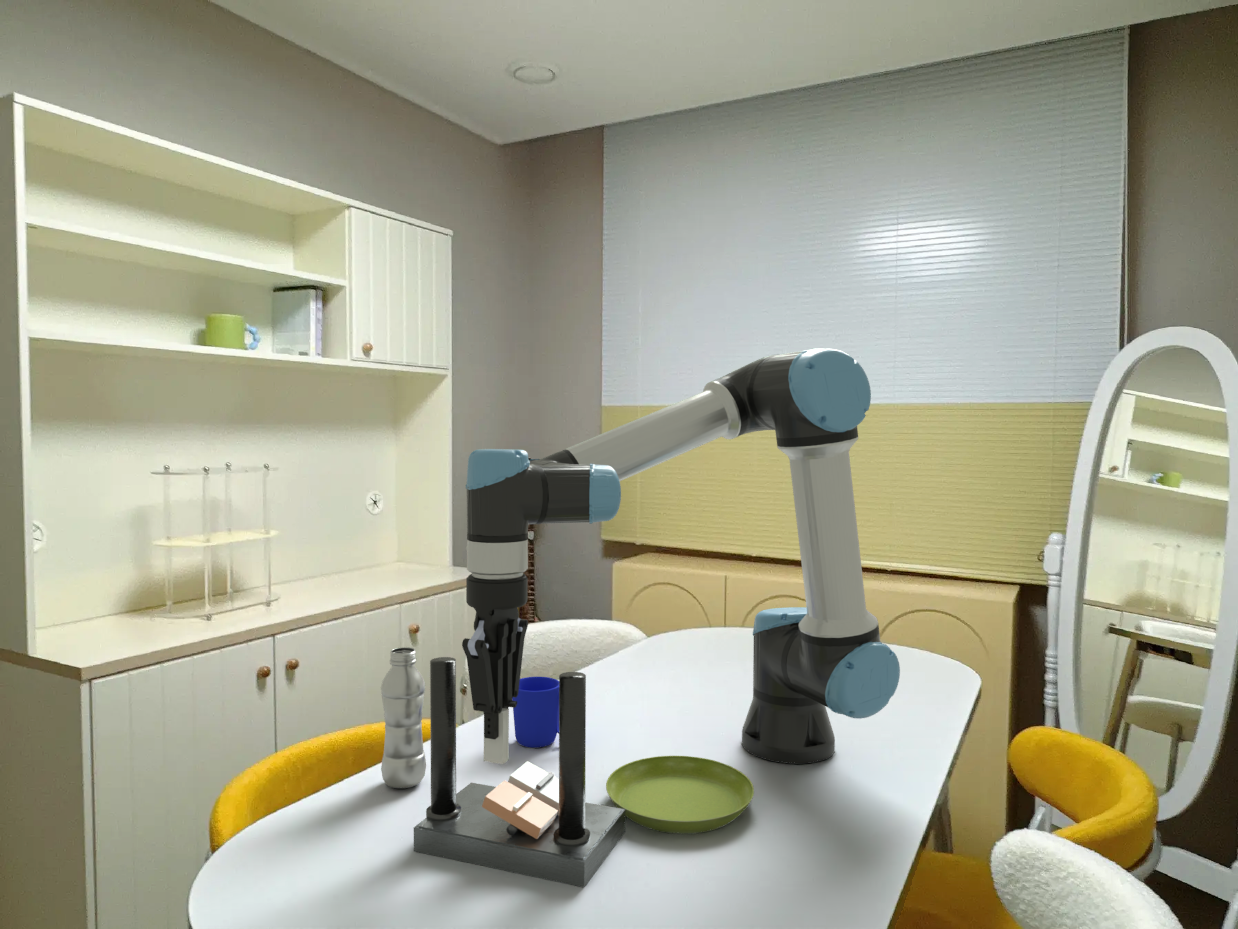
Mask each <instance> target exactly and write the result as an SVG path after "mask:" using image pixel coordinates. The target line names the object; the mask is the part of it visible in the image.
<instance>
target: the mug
mask: <svg viewBox="0 0 1238 929" xmlns="http://www.w3.org/2000/svg"><path fill="white" fill-rule="evenodd" d="M512 701H517V706H516V707H515V708H513V707H512V712H513V724H514V725H513V726H514V735H515V739H516V742H517V743H518V744H519V745H520V746H523V747H524V748H525V747H526V748H530V749H531V748H532V749H534V748H535V749H536V748H537V749H539V748H545V747H547V746H550V745H551V744H553V743H554V742H555V740H556V737H557V734H558V735H559V680H558V679H556V678H553V677H548V676H527V677H522V678H520V683H519V692H518V696H517V697H513V698H512Z"/></svg>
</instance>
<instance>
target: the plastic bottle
mask: <svg viewBox="0 0 1238 929" xmlns="http://www.w3.org/2000/svg"><path fill="white" fill-rule="evenodd" d="M389 654H390V659H389V664H390V666H391V667H390V669H389V670H388V671H387V673H386V675H385V676H384V678H383V680H382V681H381V682H382V683H381V686H380V691H381V692H380V693H381V694H380V695H381V699H382V707H383V712H384V713H383V716H384V729H385V730H384V731H385V733H384V746H383V754H382V758H381V768H380V770H381V771H380V772H381V776H382V780H383V782H384V783H385V784H386V786H388V787H390V788H392V789H393V788H394V789H406V788H413V787H415V786H417V785H419V784H421V782H422V781H423V779H424V777H425V775H426V769H427V760H426V754H425V750H424V742H423V730H422V724H423V722H422V720H423V708H424V707H423V706H424V698H425V691H426V683H425V679H424V677H423V675H422V673H421V672H420V670H418V668H417V667H416V666H415V664H416V663H417V658H416V654H417V652H416V648H413V647H407V646H406V647H405V646H404V647H403V646H402V647H401V646H400V647H395V648H393V649H391V650H390V653H389Z"/></svg>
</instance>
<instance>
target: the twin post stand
mask: <svg viewBox="0 0 1238 929" xmlns="http://www.w3.org/2000/svg"><path fill="white" fill-rule="evenodd" d="M429 664H430V666H429V667H430V668H429V669H430V670H429V671H430V672H429V676H430V677H429V678H430V679H429V680H430V681H429V682H430V684H429V685H430V687H429V688H430V689H429V690H430V691H429V692H430V694H429V695H430V704H429V705H430V714H429V715H430V717H429V718H430V805H429V806H427V808H426V810H425V813H426V814H425V815H426V817H425V818H424V819H423V820H421V821H420V822H418V824H416V825H415V826H414V827H413V852H416V853H417V852H418V853H421V854H426V855H429V856H430V855H431V856H434V857H435V856H436V857H440V858H444V859H448V860H455V861H459V862H463V863H468V864H472V865H476V866H477V865H478V866H483V867H486V868H487V867H488V868H492V869H497V870H499V871H500V870H502V871H505V872H509V873H510V872H511V873H515V874H521V875H525V876H529V877H534V878H539V879H543V880H549V881H554V882H557V883H562V884H568V885H572V886H577V887H582V888H585V887H586V886H587V884H588V883H589V882H590V880H591V879H592V878H593V876H594V875H595V873H596V872H597V871H598V870H599V868H600V867H601V866H602V864H603V863H604V861H605V860H606V858H607V857H608V856H609V854H610V853H611V852H612V851H613V849H614V847H616V845H617V844H618V842H620V839H622V837H623V835H624V834H625V833H626V816H625V809H621V808H617V807H616V806H608V805H602V804H596V803H591V802H586V748H587V747H586V742H587V740H586V736H587V735H586V731H587V730H586V726H587V724H586V723H587V722H586V720H587V717H586V716H587V715H586V714H587V711H586V710H587V708H586V706H587V702H586V701H587V699H586V697H587V695H586V693H587V692H586V690H587V681H586V680H587V679H586V678H587V674H585V673H583V672H579V671H567V672H562V673H560V674H559V675H558V679H559V680H558V681H559V734H558V778H559V815H556V818H555V820H554V822H553V823H552V824H551V825H550V826H549V827H548V828H547V829H546V830H545V831H544V832H543V833H542V835H541V836H540V837H539V838H538V839H536V838H534V837H532V836H530V835H529V834H527V833H525V832H524V831H522V830H520V829H519V828H517V827H515V826H513V825H512V824H510V823H508V822H507V821H505V820H503V819H502V818H500V817H498V816H496V815H495V814H493V813H491V812H490V811H488V810H486V809H485V808H483V807H482V805H483V802H484V799H485V796H486V795H487V794H489V793H490V792H491V791H492V790H493V789H495V788H496V787H497V786H495V785H494V786H493V785H488V784H481V783H477V782H470V783H468V785H466V786H465V787H463V788H462V789H460V790H459V792H457V660H456V658H454V657H450V656H440V657H435V658H431V660H429Z"/></svg>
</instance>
